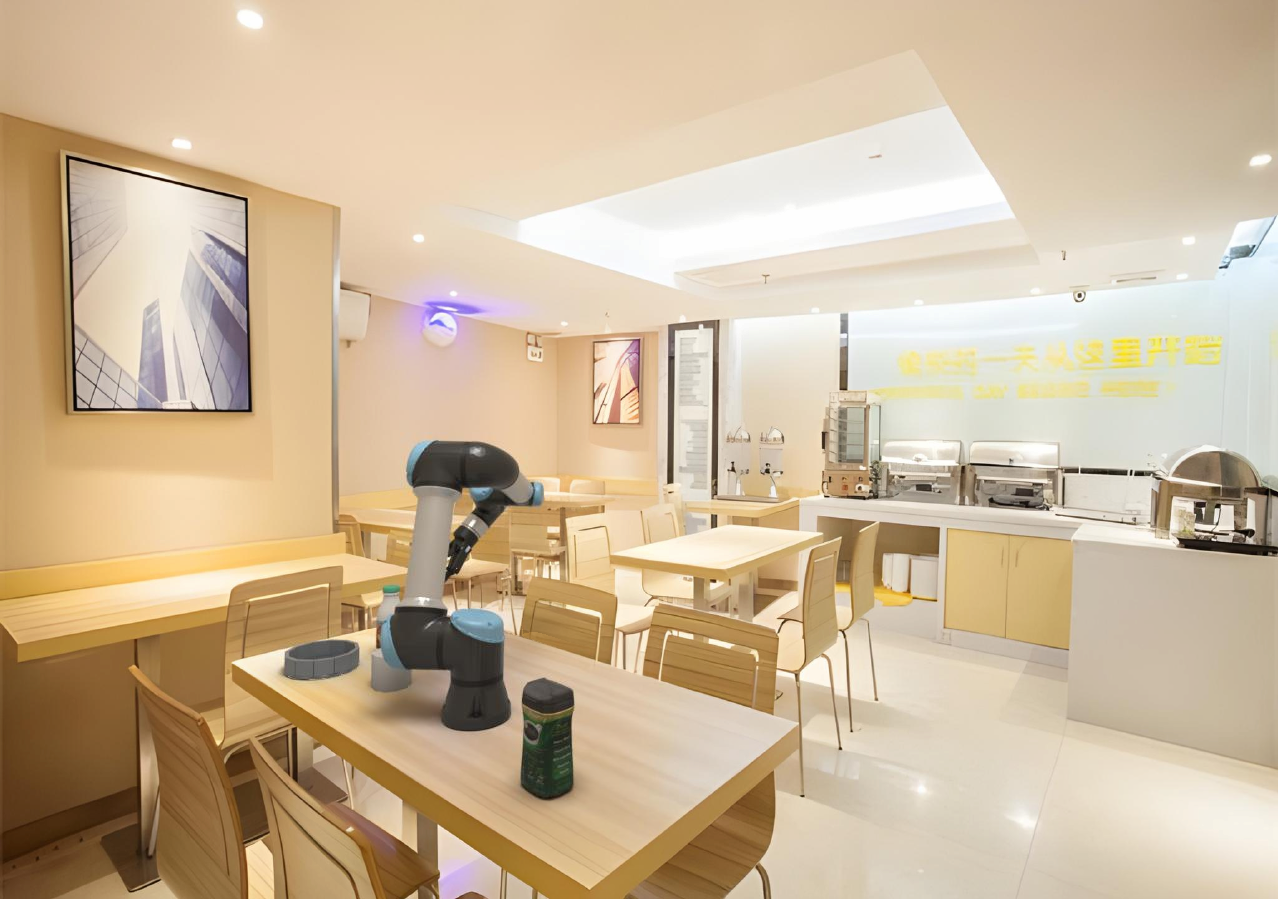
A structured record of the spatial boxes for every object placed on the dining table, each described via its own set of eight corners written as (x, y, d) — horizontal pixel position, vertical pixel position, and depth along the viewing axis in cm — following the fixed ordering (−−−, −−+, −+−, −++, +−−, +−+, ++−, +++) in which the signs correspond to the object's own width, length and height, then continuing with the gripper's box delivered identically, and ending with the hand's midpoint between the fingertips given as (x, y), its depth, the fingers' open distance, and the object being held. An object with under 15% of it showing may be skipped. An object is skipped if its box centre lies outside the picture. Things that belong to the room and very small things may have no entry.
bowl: (372, 665, 176) (372, 647, 176) (309, 685, 161) (310, 665, 161) (333, 653, 186) (333, 635, 185) (270, 671, 170) (270, 652, 170)
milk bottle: (377, 652, 187) (378, 583, 187) (405, 650, 189) (406, 582, 189) (374, 660, 180) (375, 589, 180) (403, 658, 182) (404, 588, 182)
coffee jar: (581, 787, 115) (582, 685, 115) (545, 804, 109) (547, 696, 109) (548, 767, 122) (549, 670, 122) (513, 783, 116) (514, 681, 116)
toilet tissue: (398, 671, 171) (398, 640, 171) (416, 686, 161) (416, 652, 161) (362, 679, 166) (363, 646, 166) (379, 695, 155) (379, 660, 155)
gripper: (497, 544, 193) (449, 601, 183) (460, 534, 212) (415, 586, 202) (481, 528, 190) (432, 585, 180) (445, 520, 208) (398, 571, 199)
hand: (423, 586), depth 191 cm, fingers open, 13 cm apart
